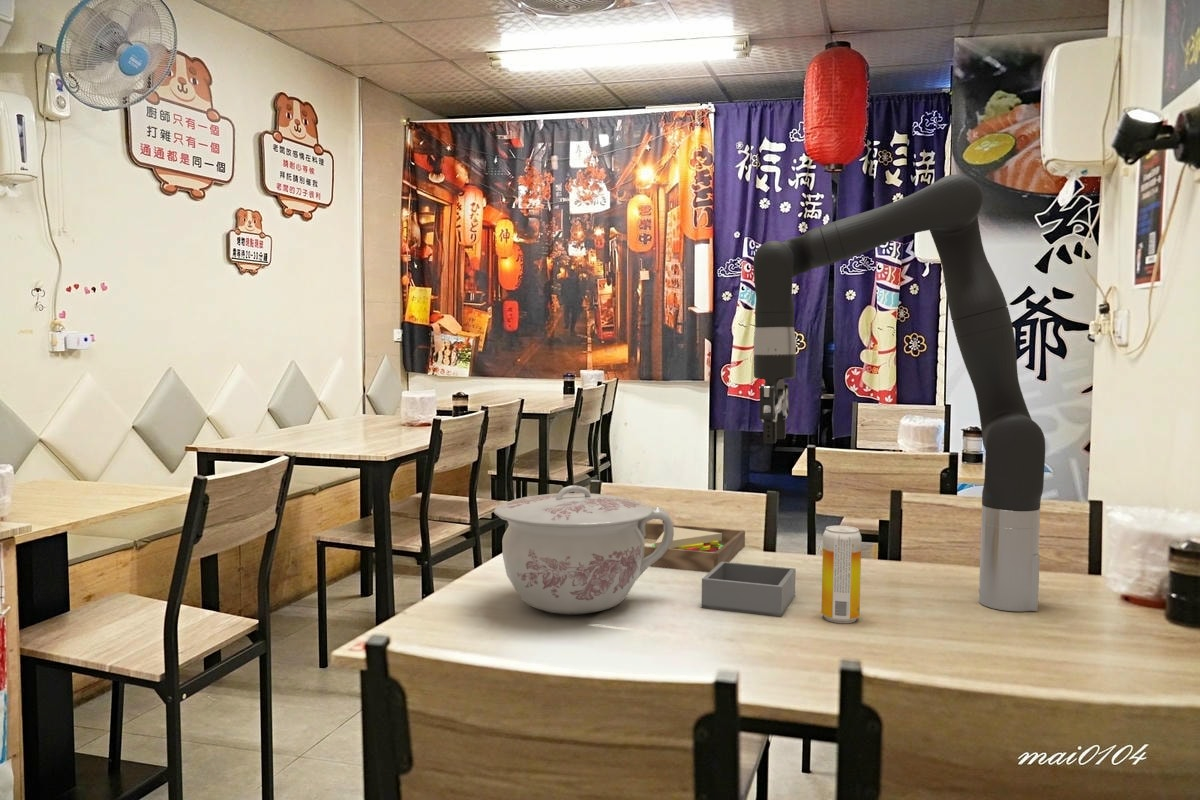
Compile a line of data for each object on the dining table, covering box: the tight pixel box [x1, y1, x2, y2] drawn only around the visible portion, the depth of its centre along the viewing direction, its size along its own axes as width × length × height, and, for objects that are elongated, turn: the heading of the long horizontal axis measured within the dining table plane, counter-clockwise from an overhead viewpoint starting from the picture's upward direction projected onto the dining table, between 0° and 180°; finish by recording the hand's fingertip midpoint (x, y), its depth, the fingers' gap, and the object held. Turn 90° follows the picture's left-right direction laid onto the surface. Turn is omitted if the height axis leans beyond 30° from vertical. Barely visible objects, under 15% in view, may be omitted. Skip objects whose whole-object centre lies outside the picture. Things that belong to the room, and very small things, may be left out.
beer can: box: [821, 525, 862, 624], centre depth 152 cm, size 6×6×15 cm
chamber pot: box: [493, 484, 674, 616], centre depth 159 cm, size 28×28×21 cm
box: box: [701, 561, 797, 618], centre depth 162 cm, size 14×14×5 cm
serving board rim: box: [643, 522, 746, 573], centre depth 197 cm, size 24×24×4 cm
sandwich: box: [651, 527, 723, 552], centre depth 196 cm, size 15×20×5 cm
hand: (774, 441), depth 169 cm, fingers open, 8 cm apart
